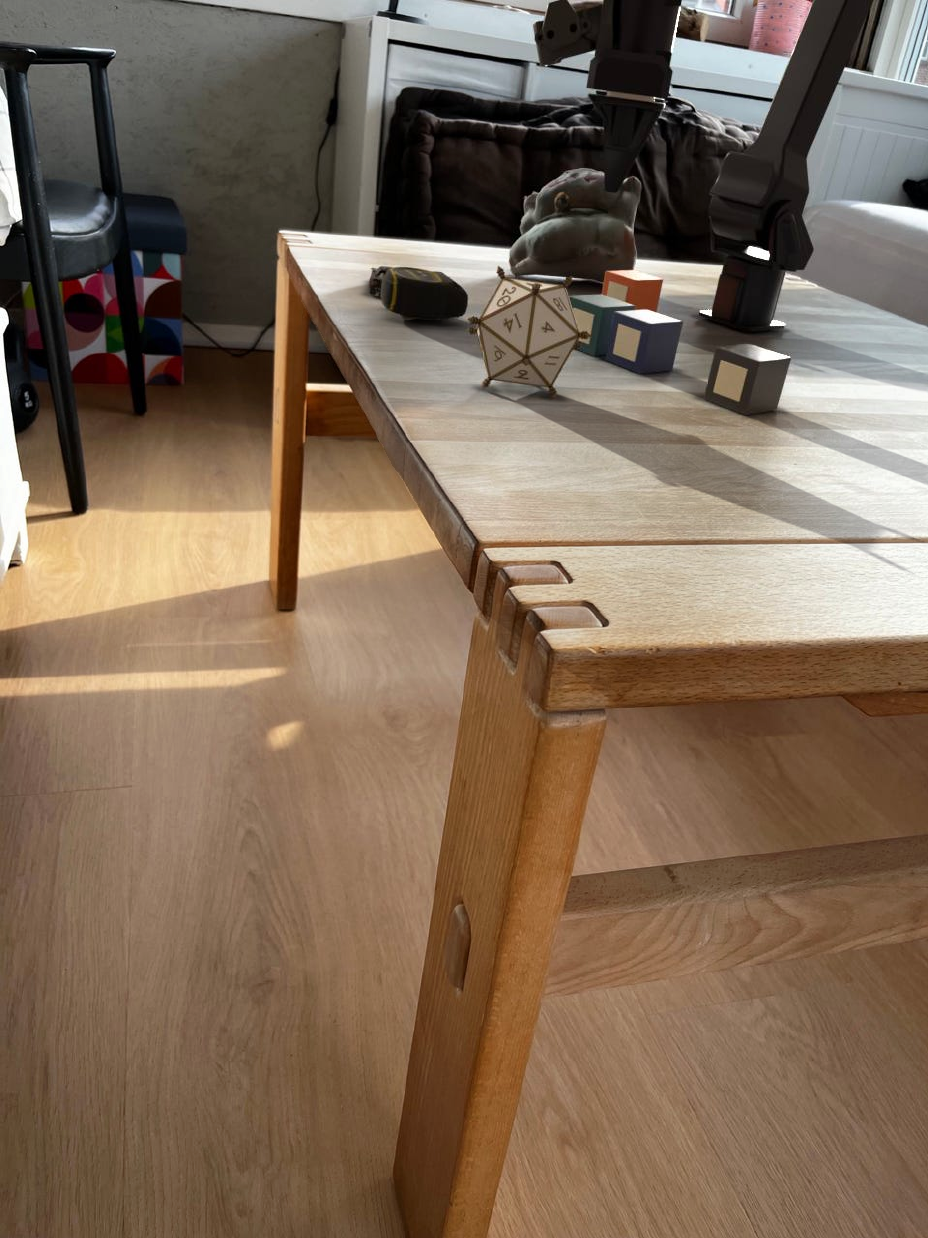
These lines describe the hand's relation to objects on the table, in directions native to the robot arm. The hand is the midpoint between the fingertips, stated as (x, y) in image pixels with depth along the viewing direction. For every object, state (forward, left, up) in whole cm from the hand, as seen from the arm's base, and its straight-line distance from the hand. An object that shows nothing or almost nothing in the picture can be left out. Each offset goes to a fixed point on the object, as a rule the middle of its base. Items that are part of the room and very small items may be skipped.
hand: (612, 186), depth 88 cm
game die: (+20, +12, -12) cm, 26 cm away
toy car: (+11, -16, -12) cm, 23 cm away
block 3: (+5, +21, -12) cm, 25 cm away
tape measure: (+14, -7, -12) cm, 20 cm away
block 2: (+5, +11, -12) cm, 17 cm away
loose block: (-8, -3, -12) cm, 15 cm away
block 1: (+5, +5, -12) cm, 14 cm away
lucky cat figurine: (-14, -18, -12) cm, 26 cm away
